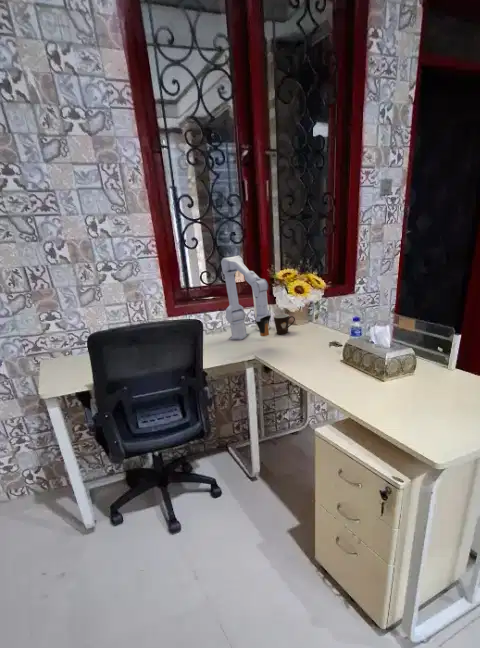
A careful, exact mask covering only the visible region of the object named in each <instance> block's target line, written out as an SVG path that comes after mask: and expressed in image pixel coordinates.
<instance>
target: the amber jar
mask: <svg viewBox="0 0 480 648" xmlns="http://www.w3.org/2000/svg"><path fill="white" fill-rule="evenodd" d="M263 320H266V319H263ZM269 330H270V329H268V320H266V323H265V333H260V332H259V335H260V337H268V336H269V335H270V331H269Z"/></svg>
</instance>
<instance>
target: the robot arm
mask: <svg viewBox="0 0 480 648" xmlns="http://www.w3.org/2000/svg"><path fill="white" fill-rule="evenodd" d="M220 265H221V270H222V274H223V275H224V281H225V286H226V293H227V297H228V304H229V305H228V306H227V308H225V319H226V321H227V323H228V324H229V325H230V333H231V337H229V340H241V341H242V340H243V339H245V338H246V337H247V336H248V335H249V333H247V325H246V322H245V319H246V312H245V309H244V306H242V305H241V304H240V302H239V296H238V289H237V284H236V277H235V275H236V274H237V272H239V273H240V274H242V276H244V280H245V281H246V283H248V284H249V286H251V290H253V291H252V294H253V293H254V296H255V300H256V310H257V316H256V319H254V323H255V325H256V324H257V325H258V327H259V330H258V331H259V334H260V333H265V323H266V320H268V326H269V325H270V320H271V318H272V316H271V312H270V310H269V305H268V306H267V302H268V294H267V295H266V291H267V292H268V290H269V283H268V281H267V280H266V279H265V278H261V277H260V276H259V275H258V274H257V273H255V271H254V270H249V268H248V267H247V266H246V264H244V260H243V258H242V257H241V256H240V255H239V254H238V255H235V256H234V255H233V256H229V257H222V259H221V261H220ZM263 319H266V320H263Z"/></svg>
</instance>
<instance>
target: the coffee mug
mask: <svg viewBox="0 0 480 648" xmlns="http://www.w3.org/2000/svg"><path fill="white" fill-rule="evenodd" d="M290 318H293V321H292V322H291V323H290V324H289V321H290ZM273 321H274V325H275V326H274V327H275V330H276V334H277V335H279V336H284V335H288V333H289V328H290V327H291V326H292V325H293V324H294V323H295V322H296V320H295V316H293V315H289V314H287V313H277V314H274V315H273Z"/></svg>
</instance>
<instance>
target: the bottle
mask: <svg viewBox="0 0 480 648" xmlns="http://www.w3.org/2000/svg"><path fill="white" fill-rule="evenodd" d="M251 290H252V289H251ZM267 292H268V290H267V291H266V295H267V296H268V293H267ZM252 298H253V308H254V317H255V319H254V320H256V316H257V310H256V300H255V296H254V293H253V290H252ZM267 306H268V307H269V303H268V301H267ZM255 327H256V331H260V330H259V327H258V325H257V324H256V323H255ZM270 327H271V326H270V324H269V326H268V329H269V330H270V329H271V328H270Z"/></svg>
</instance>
